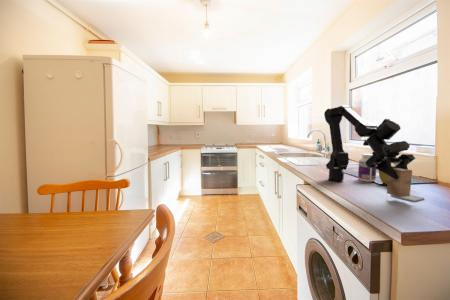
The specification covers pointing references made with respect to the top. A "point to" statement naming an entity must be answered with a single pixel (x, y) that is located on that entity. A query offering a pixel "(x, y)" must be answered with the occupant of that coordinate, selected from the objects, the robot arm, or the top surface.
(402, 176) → the walnut block
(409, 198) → the slate tile
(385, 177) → the flower pot
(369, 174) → the pill bottle
